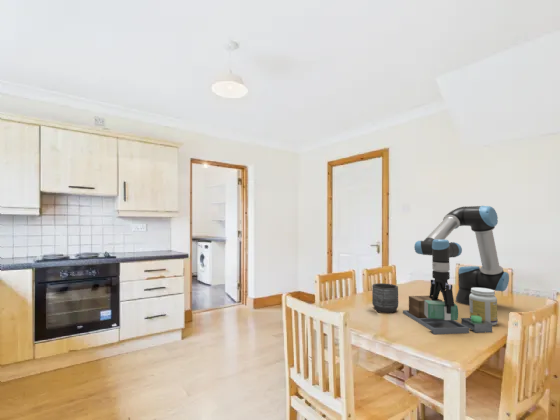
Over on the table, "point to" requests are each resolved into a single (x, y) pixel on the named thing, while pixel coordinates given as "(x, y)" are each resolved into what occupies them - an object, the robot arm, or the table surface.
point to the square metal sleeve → (477, 325)
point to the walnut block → (418, 305)
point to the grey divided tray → (440, 325)
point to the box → (438, 310)
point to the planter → (385, 297)
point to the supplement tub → (483, 304)
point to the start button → (476, 319)
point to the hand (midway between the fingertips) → (441, 316)
